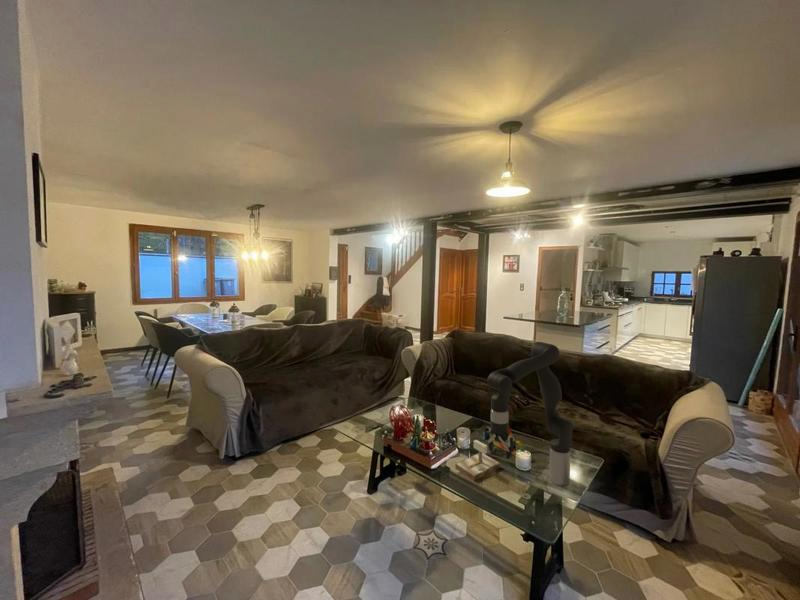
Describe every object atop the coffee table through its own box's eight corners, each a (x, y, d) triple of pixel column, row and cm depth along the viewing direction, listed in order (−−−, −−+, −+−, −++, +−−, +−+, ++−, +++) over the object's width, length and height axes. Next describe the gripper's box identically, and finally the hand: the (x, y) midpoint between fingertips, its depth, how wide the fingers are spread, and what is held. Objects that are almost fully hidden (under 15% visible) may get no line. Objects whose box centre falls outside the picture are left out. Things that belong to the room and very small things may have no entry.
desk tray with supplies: (480, 455, 202) (480, 451, 202) (501, 467, 190) (501, 463, 190) (455, 468, 191) (455, 463, 191) (474, 481, 179) (474, 476, 179)
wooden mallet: (476, 457, 196) (476, 439, 194) (487, 463, 189) (487, 445, 188) (463, 463, 190) (463, 445, 189) (473, 470, 183) (473, 451, 182)
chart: (482, 439, 220) (482, 417, 218) (485, 438, 222) (485, 415, 220) (525, 461, 196) (525, 436, 194) (528, 459, 198) (528, 434, 196)
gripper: (519, 421, 148) (519, 457, 150) (490, 411, 159) (490, 444, 161) (509, 427, 143) (509, 464, 145) (480, 416, 154) (481, 451, 156)
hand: (499, 454), depth 153 cm, fingers open, 8 cm apart
